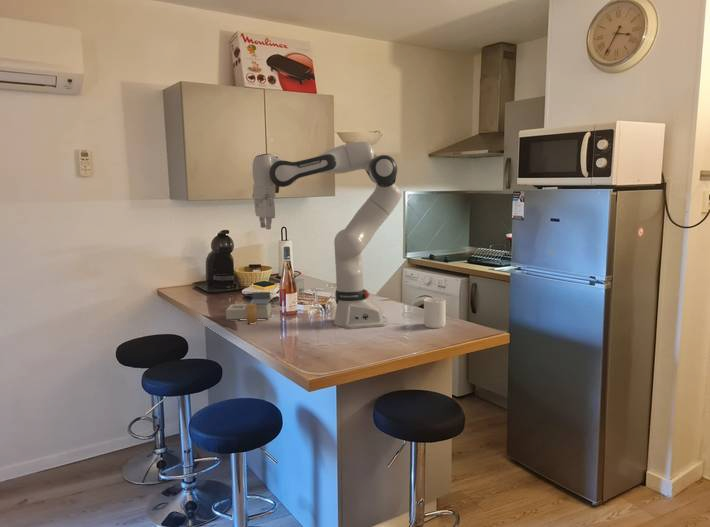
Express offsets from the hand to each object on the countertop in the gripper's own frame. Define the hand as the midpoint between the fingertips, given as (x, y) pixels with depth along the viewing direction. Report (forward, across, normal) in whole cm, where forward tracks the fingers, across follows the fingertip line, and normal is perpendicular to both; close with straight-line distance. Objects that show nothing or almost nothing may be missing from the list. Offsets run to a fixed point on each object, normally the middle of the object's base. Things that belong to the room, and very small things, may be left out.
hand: (265, 228), depth 222 cm
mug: (+40, -33, -61) cm, 80 cm away
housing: (+41, +16, +5) cm, 44 cm away
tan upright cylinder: (+41, +6, +6) cm, 41 cm away
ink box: (+41, +35, -21) cm, 58 cm away
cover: (+35, +21, -1) cm, 41 cm away
